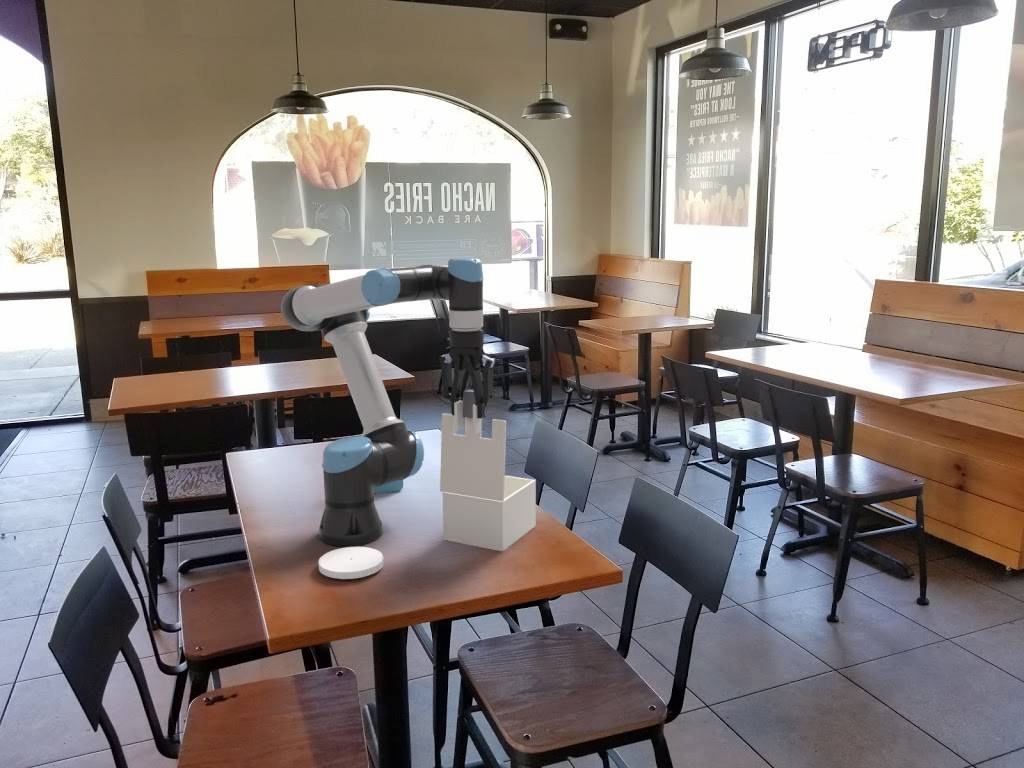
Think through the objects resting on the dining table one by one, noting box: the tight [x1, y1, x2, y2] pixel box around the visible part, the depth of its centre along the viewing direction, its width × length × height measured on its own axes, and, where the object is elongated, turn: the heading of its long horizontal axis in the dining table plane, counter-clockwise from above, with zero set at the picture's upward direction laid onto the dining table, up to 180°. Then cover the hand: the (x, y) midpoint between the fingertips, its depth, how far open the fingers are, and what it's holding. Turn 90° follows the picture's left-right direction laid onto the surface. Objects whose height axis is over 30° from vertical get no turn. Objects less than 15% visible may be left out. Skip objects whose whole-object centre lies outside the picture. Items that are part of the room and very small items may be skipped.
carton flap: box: [439, 389, 507, 502], centre depth 191 cm, size 25×17×3 cm
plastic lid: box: [318, 546, 385, 580], centre depth 182 cm, size 14×14×2 cm
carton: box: [442, 475, 537, 552], centre depth 202 cm, size 18×16×12 cm
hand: (468, 430), depth 188 cm, fingers closed on carton flap, 4 cm apart
